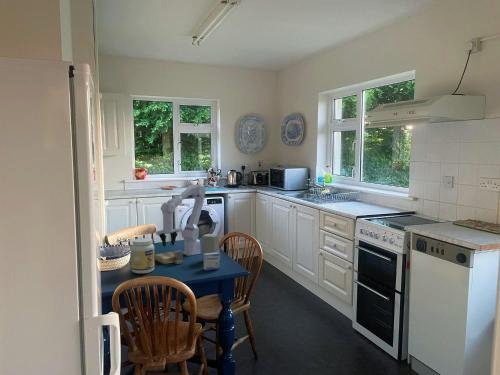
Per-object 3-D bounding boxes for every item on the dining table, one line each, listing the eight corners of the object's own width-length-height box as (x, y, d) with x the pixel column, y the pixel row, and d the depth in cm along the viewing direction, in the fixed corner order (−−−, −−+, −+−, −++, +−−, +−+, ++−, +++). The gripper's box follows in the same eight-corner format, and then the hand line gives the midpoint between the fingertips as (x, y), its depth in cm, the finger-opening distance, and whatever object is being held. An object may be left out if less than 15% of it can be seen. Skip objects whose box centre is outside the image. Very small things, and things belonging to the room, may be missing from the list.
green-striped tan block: (173, 256, 234) (173, 251, 234) (182, 260, 225) (182, 255, 224) (155, 259, 227) (154, 254, 226) (163, 264, 217) (163, 259, 217)
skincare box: (220, 260, 226) (220, 234, 224) (214, 263, 219) (214, 236, 218) (208, 258, 229) (207, 232, 228) (201, 261, 223) (201, 235, 221)
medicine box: (205, 270, 205) (205, 255, 205) (203, 268, 209) (203, 253, 209) (219, 269, 209) (219, 253, 208) (216, 266, 213) (216, 251, 212)
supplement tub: (148, 274, 198) (148, 243, 197) (127, 273, 201) (126, 242, 199) (158, 267, 210) (157, 237, 209) (138, 266, 213) (137, 237, 211)
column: (180, 261, 223) (179, 249, 222) (183, 263, 220) (182, 251, 219) (173, 262, 220) (173, 251, 220) (176, 264, 217) (176, 252, 217)
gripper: (176, 220, 231) (176, 242, 233) (153, 223, 222) (154, 246, 224) (181, 222, 226) (181, 244, 227) (158, 225, 217) (159, 248, 218)
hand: (168, 245), depth 225 cm, fingers open, 5 cm apart
